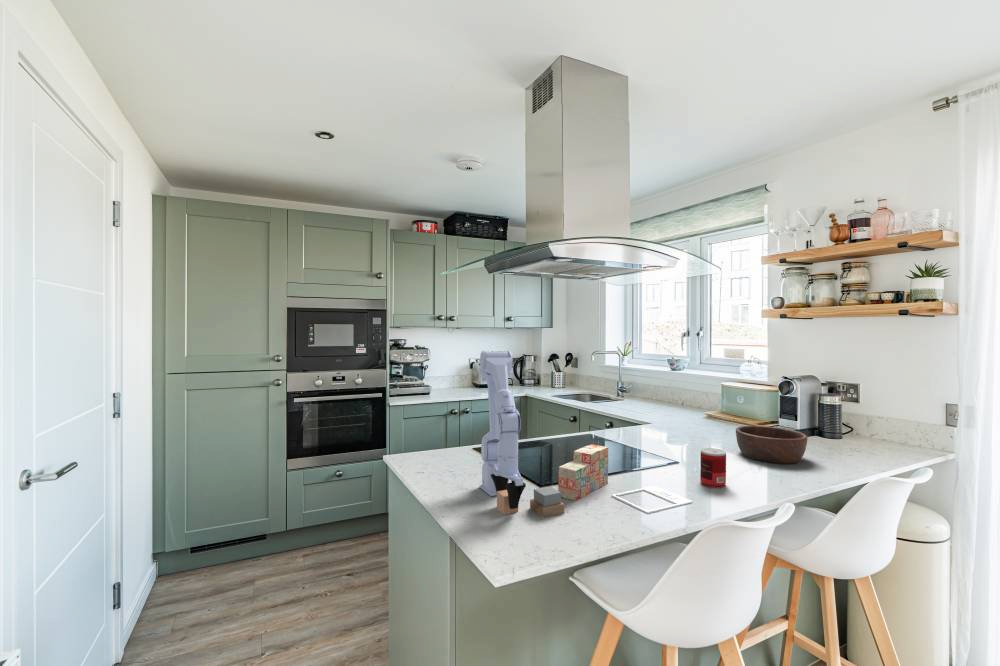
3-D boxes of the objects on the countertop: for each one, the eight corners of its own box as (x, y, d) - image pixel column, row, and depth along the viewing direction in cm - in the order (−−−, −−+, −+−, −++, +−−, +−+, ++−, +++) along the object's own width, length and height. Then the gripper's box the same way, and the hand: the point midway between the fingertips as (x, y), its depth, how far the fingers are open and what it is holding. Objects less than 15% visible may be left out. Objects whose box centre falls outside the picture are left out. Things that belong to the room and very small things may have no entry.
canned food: (727, 482, 154) (727, 450, 154) (723, 489, 147) (724, 455, 147) (702, 478, 158) (703, 446, 158) (698, 485, 151) (698, 451, 151)
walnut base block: (530, 509, 131) (530, 499, 131) (550, 505, 134) (551, 495, 134) (542, 518, 125) (542, 507, 124) (564, 514, 128) (564, 503, 127)
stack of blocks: (575, 501, 136) (576, 460, 136) (557, 496, 140) (558, 456, 140) (608, 483, 153) (608, 446, 153) (591, 479, 157) (591, 443, 157)
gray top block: (533, 499, 130) (533, 489, 130) (550, 496, 133) (550, 486, 133) (544, 506, 125) (544, 495, 125) (561, 503, 128) (561, 492, 128)
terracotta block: (496, 508, 130) (496, 491, 130) (510, 506, 132) (511, 489, 132) (503, 514, 126) (503, 496, 126) (518, 511, 128) (518, 494, 128)
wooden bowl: (730, 446, 201) (730, 423, 201) (796, 452, 194) (796, 427, 193) (741, 462, 178) (741, 436, 177) (816, 469, 170) (817, 441, 170)
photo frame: (692, 500, 136) (647, 511, 127) (692, 504, 136) (647, 515, 127) (654, 485, 149) (611, 494, 140) (654, 488, 149) (611, 497, 140)
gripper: (484, 450, 134) (484, 497, 134) (506, 463, 121) (506, 515, 121) (506, 448, 137) (505, 493, 137) (530, 460, 124) (529, 510, 124)
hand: (507, 503), depth 129 cm, fingers open, 7 cm apart
